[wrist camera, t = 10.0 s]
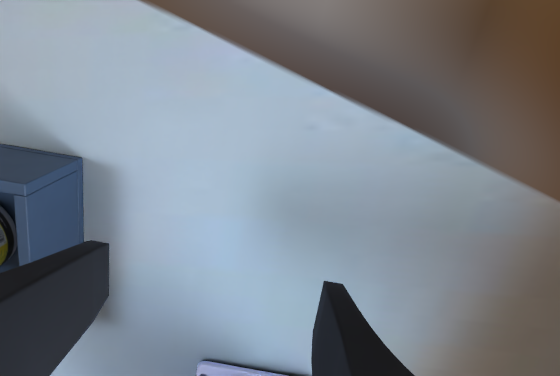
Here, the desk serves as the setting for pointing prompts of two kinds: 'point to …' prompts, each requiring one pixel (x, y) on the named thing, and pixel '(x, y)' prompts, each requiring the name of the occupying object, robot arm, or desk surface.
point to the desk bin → (41, 202)
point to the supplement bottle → (7, 236)
